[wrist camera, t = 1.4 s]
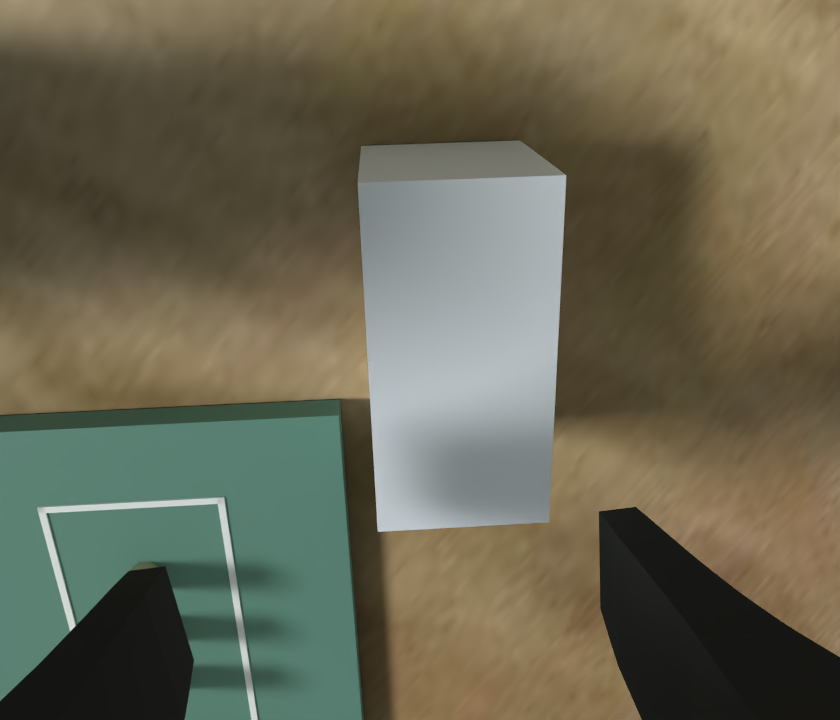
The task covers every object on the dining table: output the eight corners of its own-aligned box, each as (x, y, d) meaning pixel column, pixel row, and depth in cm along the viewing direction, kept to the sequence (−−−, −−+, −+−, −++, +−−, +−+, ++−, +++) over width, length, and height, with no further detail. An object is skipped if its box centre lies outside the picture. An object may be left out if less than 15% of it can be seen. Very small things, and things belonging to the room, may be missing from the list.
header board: (339, 399, 22) (332, 485, 18) (366, 748, 27) (365, 876, 23) (-92, 419, 21) (-204, 514, 17) (25, 772, 27) (-38, 906, 23)
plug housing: (520, 140, 19) (566, 174, 15) (512, 421, 22) (548, 522, 18) (361, 146, 19) (357, 182, 14) (376, 428, 22) (377, 531, 18)
